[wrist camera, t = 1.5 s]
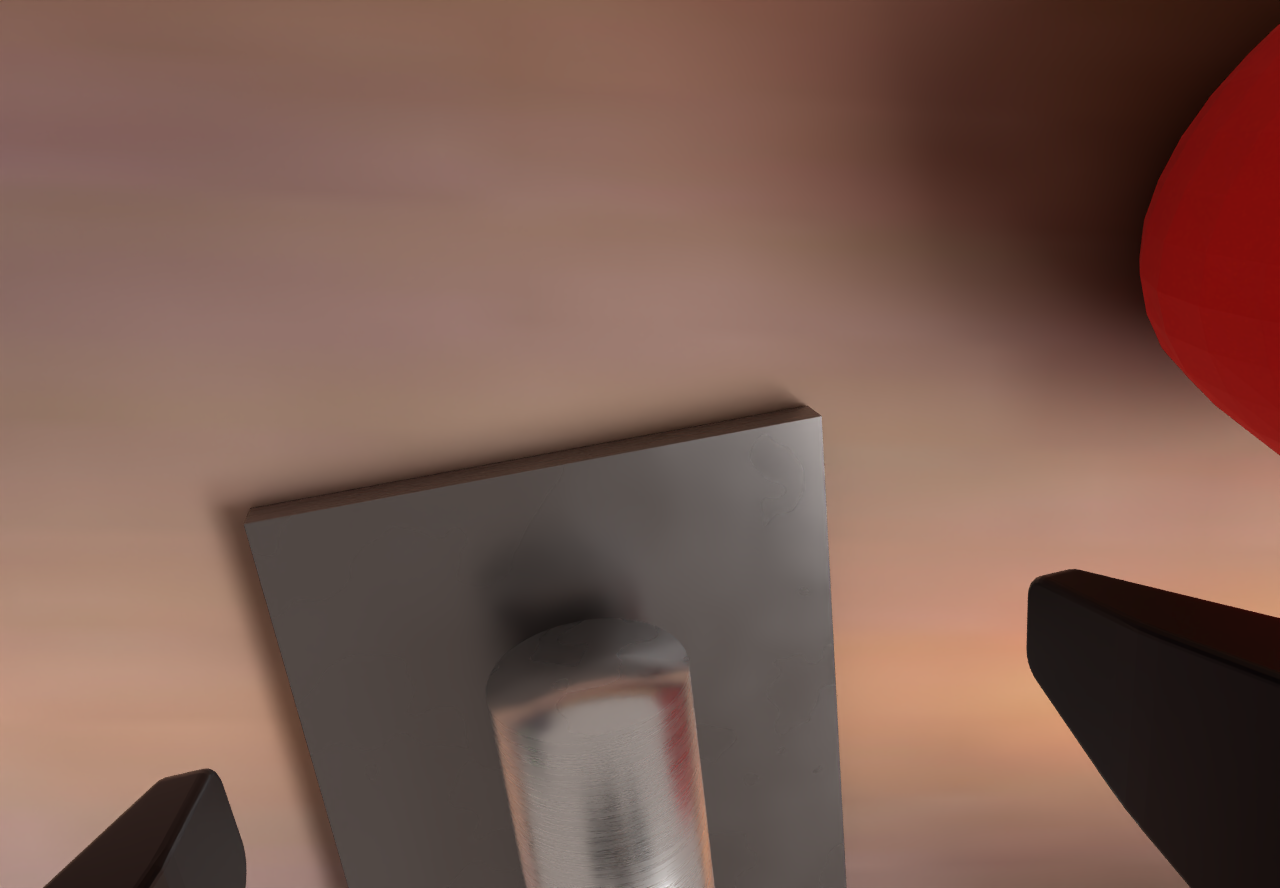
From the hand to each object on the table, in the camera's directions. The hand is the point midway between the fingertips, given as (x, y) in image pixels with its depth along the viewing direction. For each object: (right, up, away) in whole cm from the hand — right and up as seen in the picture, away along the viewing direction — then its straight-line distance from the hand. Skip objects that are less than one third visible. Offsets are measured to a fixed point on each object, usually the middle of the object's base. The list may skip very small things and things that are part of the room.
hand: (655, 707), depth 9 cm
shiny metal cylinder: (-1, -10, +17) cm, 20 cm away
